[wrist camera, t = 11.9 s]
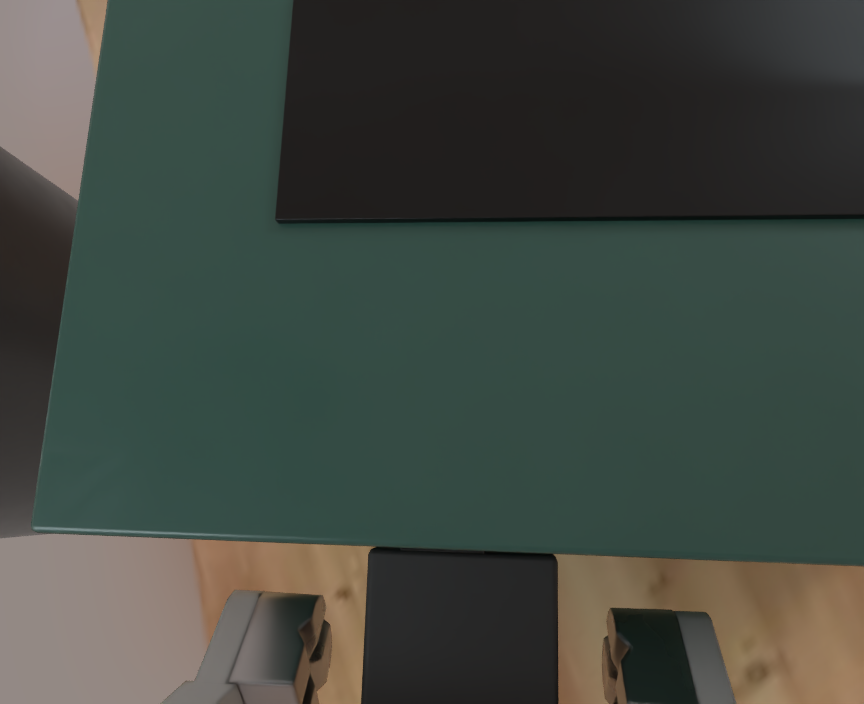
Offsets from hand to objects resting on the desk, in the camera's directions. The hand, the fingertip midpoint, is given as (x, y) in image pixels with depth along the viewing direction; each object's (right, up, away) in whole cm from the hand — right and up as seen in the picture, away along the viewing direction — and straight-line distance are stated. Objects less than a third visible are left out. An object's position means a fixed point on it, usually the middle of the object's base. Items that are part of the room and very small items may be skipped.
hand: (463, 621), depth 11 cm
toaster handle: (0, 0, 0) cm, 0 cm away
